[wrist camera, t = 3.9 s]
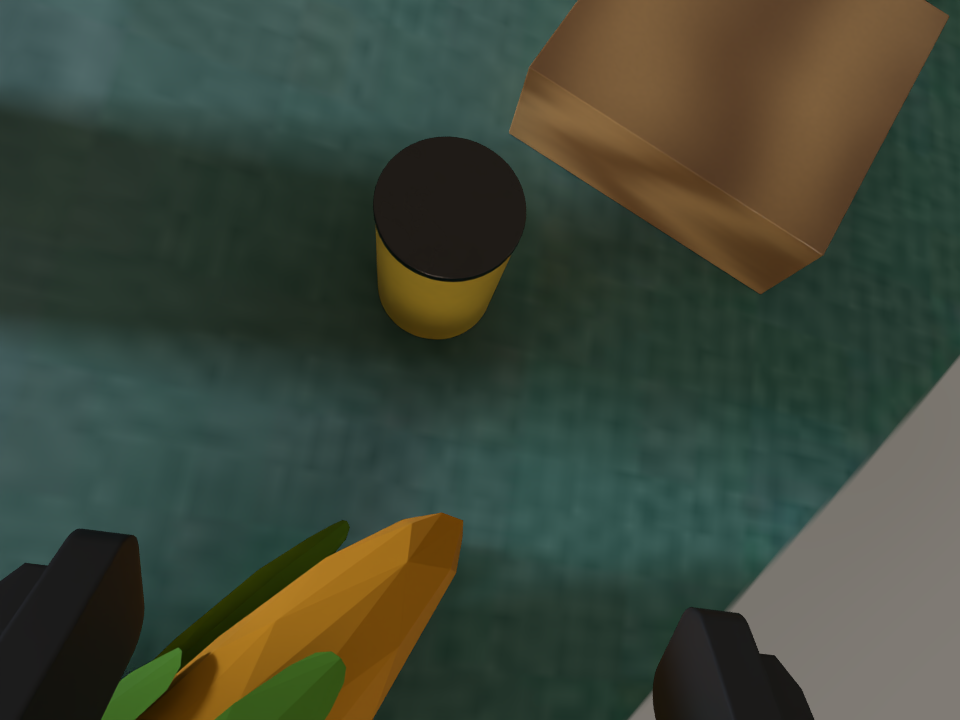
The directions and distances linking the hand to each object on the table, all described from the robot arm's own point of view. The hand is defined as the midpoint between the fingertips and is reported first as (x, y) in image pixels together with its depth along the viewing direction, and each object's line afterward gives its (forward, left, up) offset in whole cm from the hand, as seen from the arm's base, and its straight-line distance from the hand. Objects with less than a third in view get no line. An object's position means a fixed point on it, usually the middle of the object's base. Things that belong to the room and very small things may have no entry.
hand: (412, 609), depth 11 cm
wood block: (-4, +26, -19) cm, 32 cm away
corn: (-1, -7, -19) cm, 20 cm away
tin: (-7, +10, -19) cm, 22 cm away
